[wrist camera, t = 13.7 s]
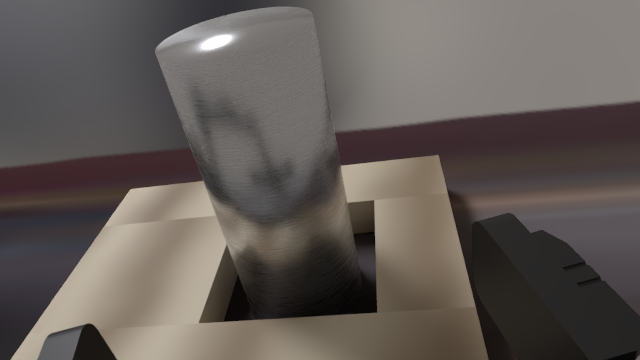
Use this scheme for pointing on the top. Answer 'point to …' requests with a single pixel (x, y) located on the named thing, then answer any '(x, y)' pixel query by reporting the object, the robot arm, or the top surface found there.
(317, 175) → the grey cylinder
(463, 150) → the top surface
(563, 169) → the top surface
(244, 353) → the mounting board
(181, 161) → the top surface
